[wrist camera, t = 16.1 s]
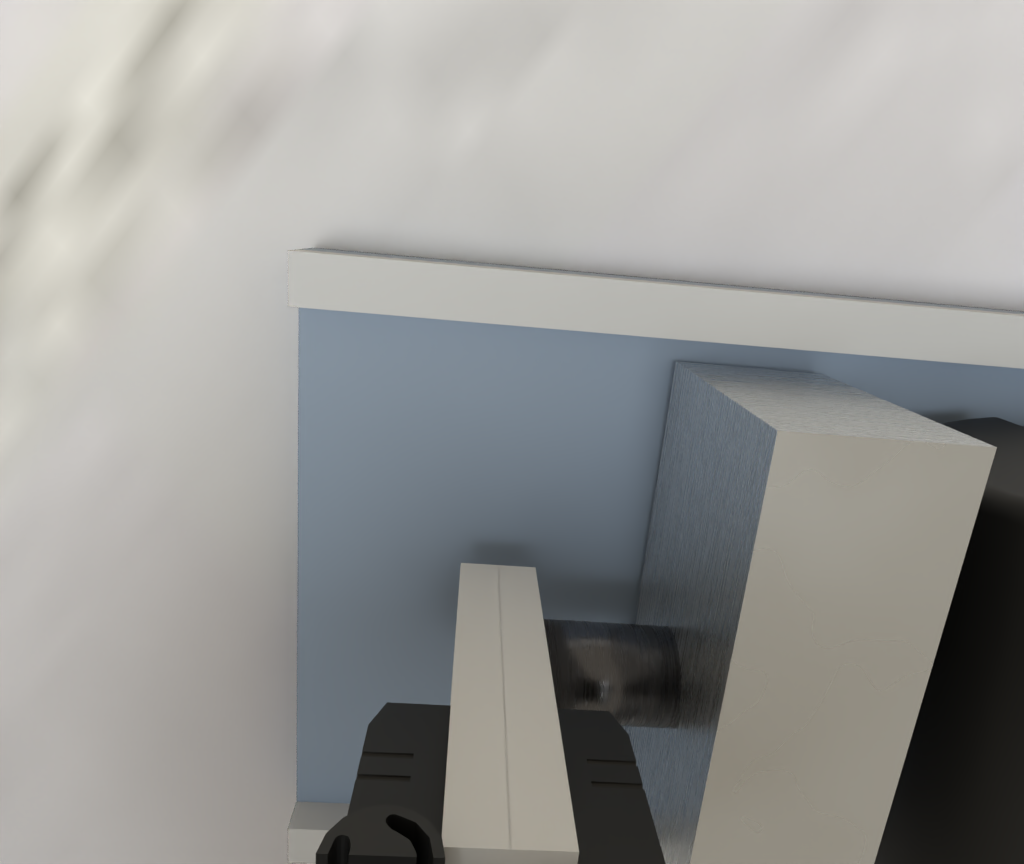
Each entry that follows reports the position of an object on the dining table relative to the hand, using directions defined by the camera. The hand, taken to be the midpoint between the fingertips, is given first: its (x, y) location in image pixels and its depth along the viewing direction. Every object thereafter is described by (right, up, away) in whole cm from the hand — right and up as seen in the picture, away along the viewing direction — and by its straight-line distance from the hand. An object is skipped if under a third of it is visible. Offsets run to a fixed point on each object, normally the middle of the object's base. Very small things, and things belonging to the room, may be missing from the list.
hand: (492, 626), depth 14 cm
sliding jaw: (+3, 0, +1) cm, 4 cm away
